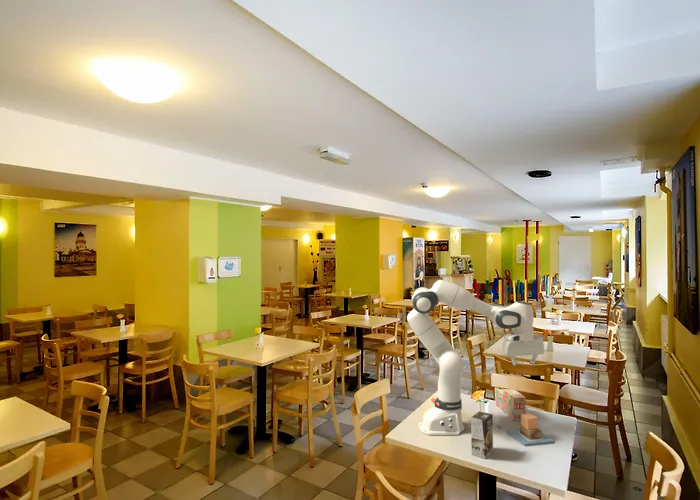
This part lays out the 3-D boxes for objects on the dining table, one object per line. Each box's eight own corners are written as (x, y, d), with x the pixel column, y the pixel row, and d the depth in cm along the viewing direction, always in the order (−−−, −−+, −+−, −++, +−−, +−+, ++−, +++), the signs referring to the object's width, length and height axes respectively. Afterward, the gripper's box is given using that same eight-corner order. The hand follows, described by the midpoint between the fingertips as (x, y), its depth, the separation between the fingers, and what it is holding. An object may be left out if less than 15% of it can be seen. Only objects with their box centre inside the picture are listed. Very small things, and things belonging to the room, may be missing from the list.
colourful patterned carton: (495, 405, 228) (495, 383, 228) (506, 405, 229) (506, 383, 229) (514, 421, 207) (513, 397, 207) (525, 420, 207) (525, 396, 208)
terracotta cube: (527, 429, 185) (527, 418, 185) (521, 425, 190) (521, 414, 190) (537, 428, 186) (537, 417, 186) (530, 424, 191) (530, 413, 191)
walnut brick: (530, 439, 183) (530, 431, 183) (519, 432, 191) (519, 423, 191) (541, 438, 184) (541, 429, 184) (530, 431, 192) (530, 422, 192)
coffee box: (485, 459, 168) (485, 420, 168) (470, 454, 172) (470, 416, 172) (493, 451, 175) (493, 414, 175) (479, 446, 179) (479, 410, 179)
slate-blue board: (524, 446, 179) (524, 443, 179) (506, 432, 193) (506, 430, 193) (554, 443, 182) (554, 440, 182) (534, 429, 196) (534, 427, 196)
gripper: (538, 333, 197) (539, 361, 197) (500, 335, 194) (501, 363, 193) (547, 335, 191) (547, 365, 191) (508, 337, 187) (508, 367, 187)
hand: (523, 364), depth 192 cm, fingers open, 8 cm apart
